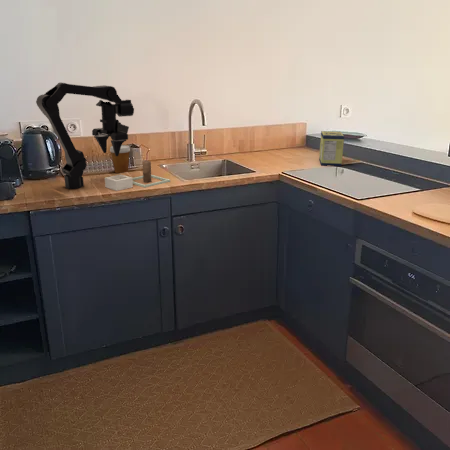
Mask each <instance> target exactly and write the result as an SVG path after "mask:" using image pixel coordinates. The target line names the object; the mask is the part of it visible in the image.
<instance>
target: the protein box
mask: <svg viewBox="0 0 450 450" xmlns="http://www.w3.org/2000/svg"><path fill="white" fill-rule="evenodd" d="M344 145H345V135H344V134H343V133H342V132H341V131H331V130H330V131H329V130H328V131H327V130H326V131H325V130H324V131H323V130H321V132H320V143H319V154H318V155H319V157H318V161H319V163H320V165H321V166H323V167H328V166H327V165H334V166H333V167H342V163H343V153H344Z"/></svg>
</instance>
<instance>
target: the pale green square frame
mask: <svg viewBox="0 0 450 450" xmlns="http://www.w3.org/2000/svg"><path fill="white" fill-rule="evenodd" d="M152 178H153V179H157V180H161V181H156V182H150V183H146V184H144V183H139V182H136V181H138V180H141V179H143V175H140V176H136V177H132V181H133V185H134V186H137V187H141V188H145V189H146V188H149V187H150V188H151V187H154V186H158V185H163V184H166V183H171V179H169V178H164V177H161V176H158V175H154V174H151V179H152Z"/></svg>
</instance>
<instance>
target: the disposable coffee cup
mask: <svg viewBox="0 0 450 450" xmlns="http://www.w3.org/2000/svg"><path fill="white" fill-rule="evenodd" d="M109 148H110V149H109V151H110V154H111V161H112V164H113V170H114V173H116V174H123V173H128V172H129V163H130V153H131V148H130V145H124V144H122V145H121V148H120V152H119V155H118V156H115V153H114V150H113V146H112V145H111V146H110V147H109Z"/></svg>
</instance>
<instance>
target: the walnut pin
mask: <svg viewBox="0 0 450 450" xmlns="http://www.w3.org/2000/svg"><path fill="white" fill-rule="evenodd" d="M151 175H152V162H151V161H149V160H143V161H142V176H143V178H142V179H143V180H142V182H143V183H146V184H150V183H152V177H151Z"/></svg>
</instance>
